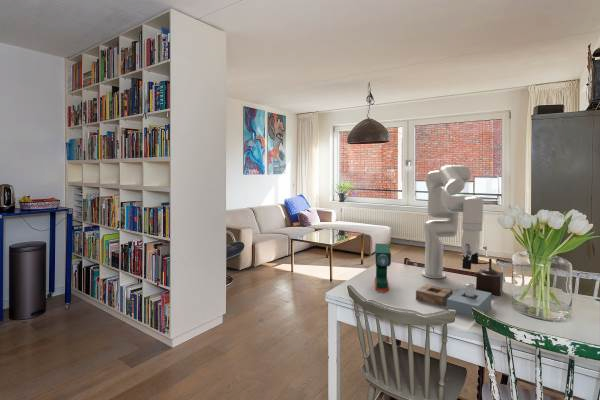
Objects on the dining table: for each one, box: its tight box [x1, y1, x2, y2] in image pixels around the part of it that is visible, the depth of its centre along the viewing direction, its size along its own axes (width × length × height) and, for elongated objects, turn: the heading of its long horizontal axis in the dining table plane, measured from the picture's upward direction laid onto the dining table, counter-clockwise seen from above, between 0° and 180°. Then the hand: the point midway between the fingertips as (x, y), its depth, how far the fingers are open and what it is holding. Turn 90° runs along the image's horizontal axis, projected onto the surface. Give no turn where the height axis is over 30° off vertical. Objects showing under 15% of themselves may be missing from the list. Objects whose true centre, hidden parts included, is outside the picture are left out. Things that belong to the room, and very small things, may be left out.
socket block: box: [415, 283, 454, 307], centre depth 157 cm, size 12×12×5 cm
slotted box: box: [446, 286, 492, 318], centre depth 147 cm, size 20×12×6 cm, turn 138°
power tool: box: [374, 242, 392, 292], centre depth 173 cm, size 32×7×20 cm, turn 168°
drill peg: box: [464, 282, 476, 299], centre depth 147 cm, size 4×4×10 cm
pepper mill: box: [475, 258, 504, 297], centre depth 170 cm, size 16×11×18 cm
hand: (470, 266), depth 146 cm, fingers open, 9 cm apart
